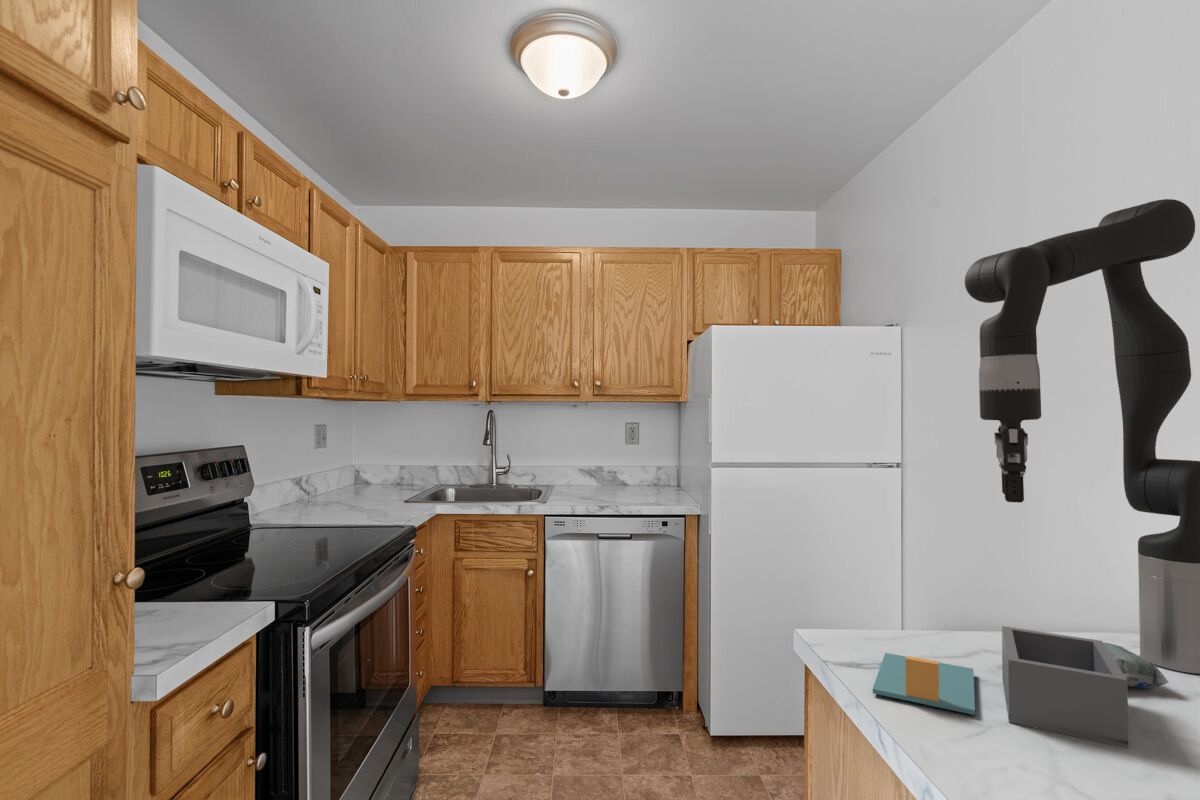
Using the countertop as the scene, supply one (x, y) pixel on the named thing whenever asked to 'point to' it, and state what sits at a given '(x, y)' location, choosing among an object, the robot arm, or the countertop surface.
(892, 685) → the lid
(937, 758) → the countertop surface
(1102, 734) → the tub
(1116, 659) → the packaged food
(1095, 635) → the countertop surface
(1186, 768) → the countertop surface
